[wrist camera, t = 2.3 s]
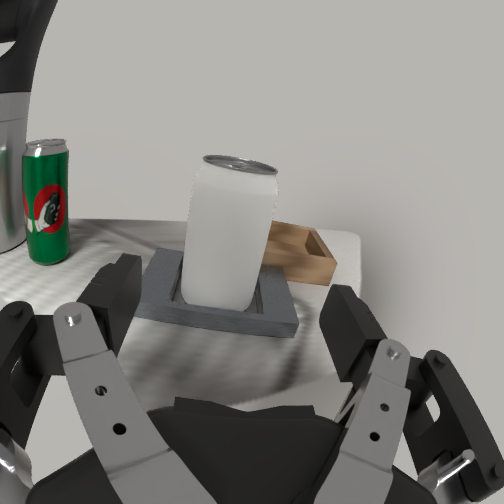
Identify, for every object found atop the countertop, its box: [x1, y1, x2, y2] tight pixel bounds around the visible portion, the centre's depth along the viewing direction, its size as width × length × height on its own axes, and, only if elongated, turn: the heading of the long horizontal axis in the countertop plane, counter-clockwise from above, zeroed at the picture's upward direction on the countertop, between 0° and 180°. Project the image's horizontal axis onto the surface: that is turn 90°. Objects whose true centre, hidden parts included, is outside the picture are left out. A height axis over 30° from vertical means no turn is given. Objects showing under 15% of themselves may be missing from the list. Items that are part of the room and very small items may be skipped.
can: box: [181, 155, 278, 312], centre depth 23 cm, size 6×6×12 cm
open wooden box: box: [261, 221, 337, 286], centre depth 34 cm, size 10×10×3 cm
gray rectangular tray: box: [134, 248, 299, 338], centre depth 25 cm, size 13×9×2 cm
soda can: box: [22, 139, 70, 265], centre depth 21 cm, size 5×5×12 cm
